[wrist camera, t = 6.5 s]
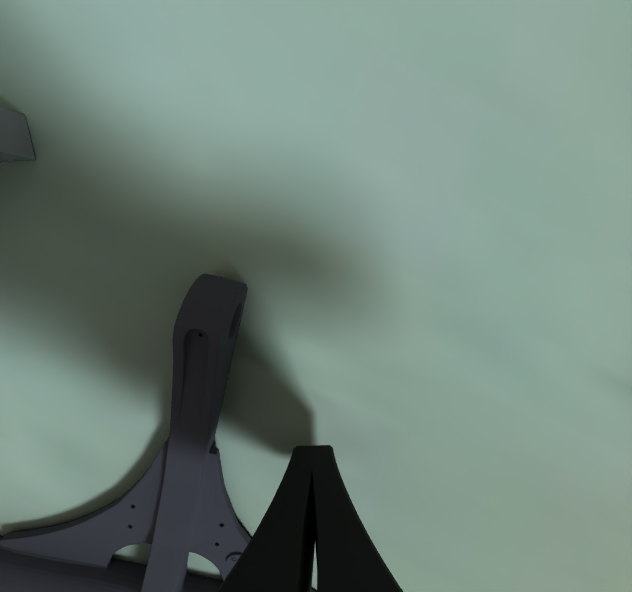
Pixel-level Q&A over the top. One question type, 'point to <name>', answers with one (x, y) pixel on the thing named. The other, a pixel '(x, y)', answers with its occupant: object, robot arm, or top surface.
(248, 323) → the top surface
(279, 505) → the robot arm
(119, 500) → the bracket
